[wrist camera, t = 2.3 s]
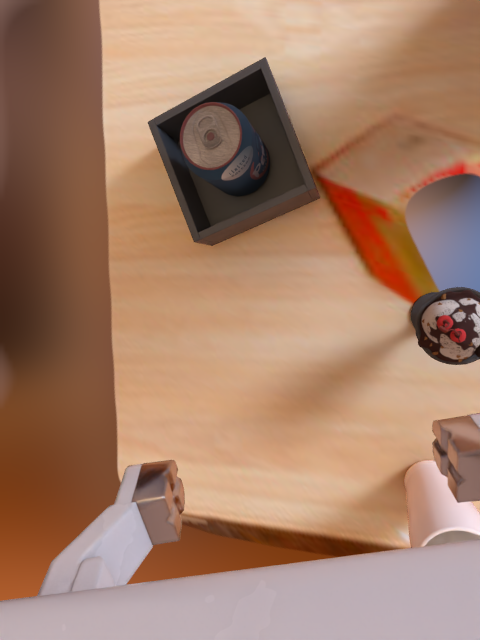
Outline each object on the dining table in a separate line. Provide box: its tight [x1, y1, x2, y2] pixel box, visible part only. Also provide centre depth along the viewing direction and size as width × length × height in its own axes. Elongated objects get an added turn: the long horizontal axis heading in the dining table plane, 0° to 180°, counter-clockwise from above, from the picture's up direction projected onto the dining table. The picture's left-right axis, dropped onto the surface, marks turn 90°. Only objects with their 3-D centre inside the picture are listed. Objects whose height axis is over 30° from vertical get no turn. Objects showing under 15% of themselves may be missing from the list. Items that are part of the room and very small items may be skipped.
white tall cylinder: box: [404, 460, 480, 548], centre depth 42 cm, size 7×7×15 cm
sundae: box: [411, 287, 480, 365], centre depth 40 cm, size 7×7×15 cm
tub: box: [148, 58, 320, 246], centre depth 48 cm, size 14×14×6 cm
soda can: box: [180, 102, 270, 196], centre depth 45 cm, size 7×7×12 cm
